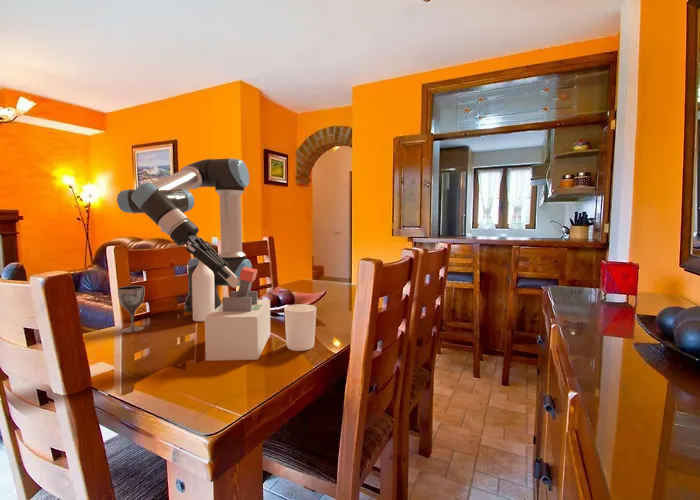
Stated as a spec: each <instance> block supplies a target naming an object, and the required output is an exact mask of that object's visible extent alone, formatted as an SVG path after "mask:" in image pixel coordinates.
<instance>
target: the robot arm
mask: <svg viewBox="0 0 700 500" xmlns="http://www.w3.org/2000/svg"><path fill="white" fill-rule="evenodd" d="M249 184H250V173H249V169H248V167H247V165H246V163H245V162H244V161H243V160H242V159H239V158H207V159H206V158H205V159H202V160H198V161H194V162H192V163H189V164H187V165H185V166H184V165H183V166H182V167H181V169H180V170H179V171H178V172H177V171H176V172H175V173H172V174H170V175H168V176H166V177H163V178H161V179H158V180H156V181H154V182H145V183H143V184H141V185H138V186H137V187H136V188H135V189H131V188H129V189H123V190H121V191H119V193H118V194H117V197H116V203H117V205H118V208H119V209H120V211H122V212H124V213H127V214H128V213H129V214H145V215H146V216H147V217H149V219H151V221H153V222H154V223H155V224H156V226H157V227H158V228H160V232H162V233H165V235H167V236H169V238H170V239H171V240H172V242H174V243H175V245H177V246H178V247H179V246H180V247H181V246H184V245H185V246H186V248H185V251H187V252H188V253H189V254H192V256H194V257H191V258H190V259H189V260H188V262H187V278H188V279H187V281H188V282H187V283H188V284H187V285H188V287H187V288H188V293H187V296H186V299H185V302H184V311H185V312H187V313H193V306H192V274H193V272H194V270H195V269H196V267H197V266H198V264H199V260H200V261H201V262H202V263H203V264H205V265H206V266H207V267H208V268H209V269H210V270H211V271H213V273H214V290H215V309H216V308H218V307H219V306H220V305H222V304H223V302H222V299H221V297H220V294H219V292H218V286H219V287H221V286H225V287H232V288H233V289H235V288H237V287H240V283H241V279H239V278H240V274H241V270H242V269H243V268H245V267H249V268H253V266H252V263H251V260H250V259H248V258H247V255H246V253H245V252H244V251H243V231H242V230H243V228H242V197H241V196H242V195H243V194H244V193H245V188H247V187H248V186H249ZM199 188H215V189H214V190H215V192H216V193H217V194H218V195H219V197H218V198H219V221H220V225H219V226H220V245H221V246H220V247H221V248H220V249H221V250H220V253H218V252H217V251H216V250H215V249H214V248H213V247H212V245H211V243H210V242H209V241H205V240H204V239H203V238H202V237H199V236H198V233H199V231H200V229H199V227H198V226H197V225H196V224H195V223H194V222H193V221H192V220H190V219H189V217H188V216H187V215H186V214H185V213H186V212H189V211H190V210H192V209H193V208H194V205H195V197H194V194H192V192H191V191H190V190H197V189H199Z"/></svg>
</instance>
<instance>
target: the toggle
mask: <svg viewBox="0 0 700 500" xmlns="http://www.w3.org/2000/svg"><path fill="white" fill-rule="evenodd" d="M257 275H258V269H257V268H253V267H252V268H249V267H245V268H243V269H242V270H241V274H240V278H239V279H241V283H240V286H238V287H239V288H238V295H237V297H249V293H250V291H251V290H252V289H251V288H252V285H253V283H254V281H255V280H256V278H257Z"/></svg>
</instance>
